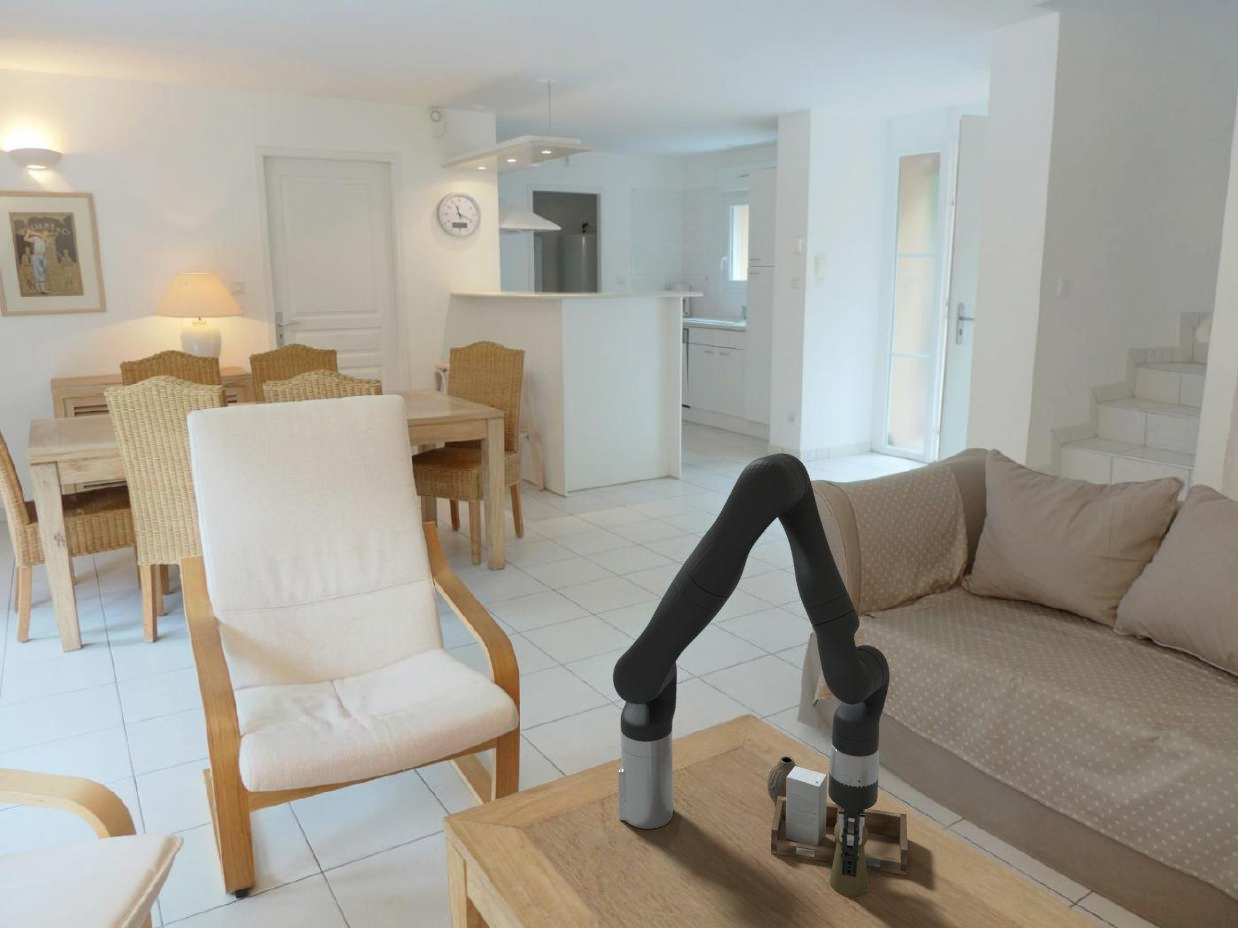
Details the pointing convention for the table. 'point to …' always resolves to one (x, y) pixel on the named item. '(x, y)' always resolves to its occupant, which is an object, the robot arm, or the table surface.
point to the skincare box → (806, 806)
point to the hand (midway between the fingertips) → (849, 865)
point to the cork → (847, 883)
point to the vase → (779, 777)
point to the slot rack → (881, 847)
